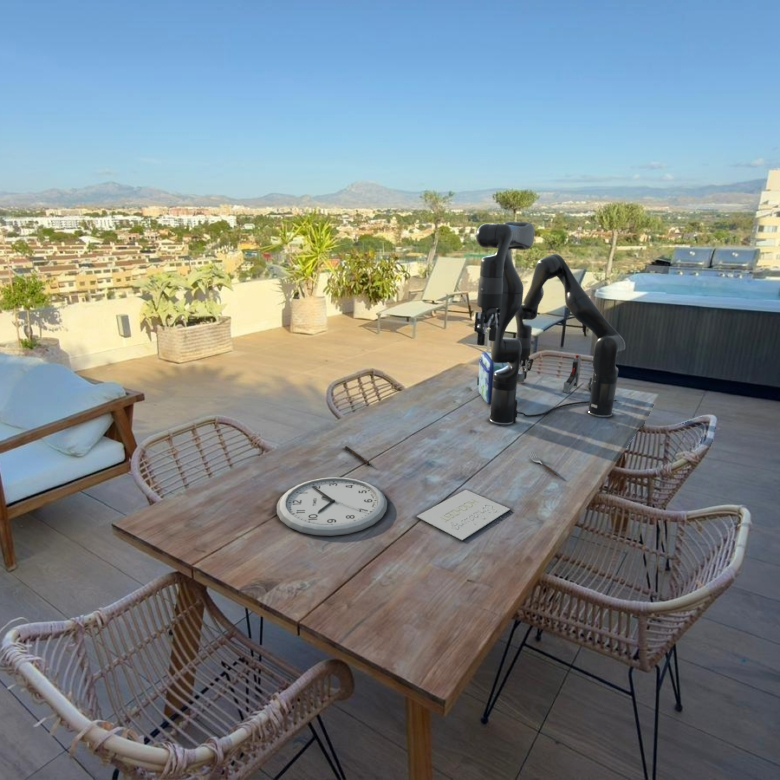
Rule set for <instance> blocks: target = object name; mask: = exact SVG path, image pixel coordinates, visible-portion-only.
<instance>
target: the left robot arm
mask: <svg viewBox="0 0 780 780" xmlns="http://www.w3.org/2000/svg"><path fill="white" fill-rule="evenodd" d="M535 231H536V230H535V227H534V225H533V224H532V223H531V222H525V221H506V222H504V223H483V224H481V225H480V226H479V227H478V229H477V230H476V232H475V233H476V234H475V240H476V242H477V244H478V246H479V247H480V248H483V249H497V251H496V252H495V254H493V255H487V256H483V257H482V258H481V260H480V269H479V279H478V285H477V286H478V287H477V299H476V300H477V301H476V302H477V303H476V306H477V307H478V308H481V310H480V312H479V311H478V312H477V311H476V312H475V316H474V317H475V318H474V329H473V331H474V332H475V333H477V338H476V339H477V341H476V344H477V346H485V343H486V332H487V329H488V328H489V329H488V341H489V342H491V348H490V352H491V358H492V361H493V362H494V363H508V365H507V366H506V367H504V368H502V369H499V370H497V371H495V372H494V374H493V385H492V398H491V404H490V410H489V422H490V423H491V424H494V425H497V426H511V425H513V424H516V423H517V418H518V415H521V416H523V417H528V418H530V417H531V418H532V417H540V416H544V415H547V414H548V413H550V412H552V411H554V410H558V409H560V408H563V407H567V406H572V405H580V404H589V402H590V400H587V401H586V400H585V401H577V402H575V401H574V402H570V403H569V402H568V403H565V404H561V405H558V406H555V407H553V408H551V409H548V410H547V411H545V412H541V413H536V414H526V413H524V412H522V411H518V399H517V388H518V382H517V379H518V373H519V372H520V369H519V365H520V359H521V350H522V347H521V342H520V341H519V340H518V339H516V338H504V335H505V333H506V329H507V328H508V326H509V324H510V323H511V321H512V320H513V319H514V318H515V315H516V314H517V312H518V311H519V309H520V308H521V305H523V300H524V299H523V298H524V297H523V296H524V284H523V282H522V279H521V277H520V275H519V273H518V272H517V270H516V267H515V265H514V262H513V258H512V250H521V251H522V250H523V251H525V250H528V249H530V248H531V247H532V246H533V244H534V242H535V236H536V232H535ZM615 402H618V399H614V403H615Z"/></svg>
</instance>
